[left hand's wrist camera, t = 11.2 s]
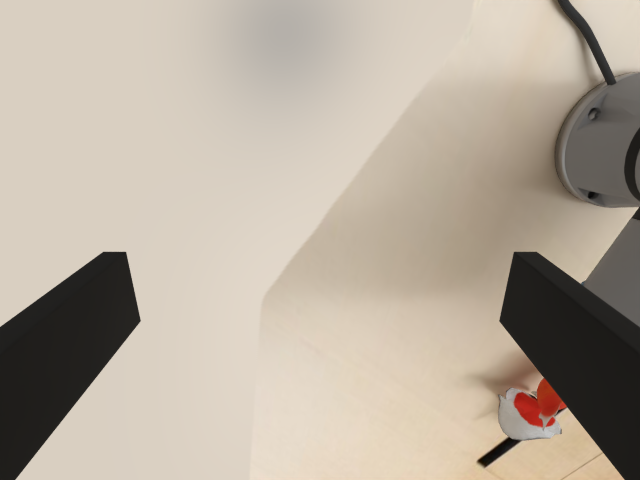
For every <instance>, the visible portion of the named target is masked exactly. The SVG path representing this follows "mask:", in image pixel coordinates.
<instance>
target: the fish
mask: <svg viewBox="0 0 640 480" xmlns="http://www.w3.org/2000/svg"><path fill="white" fill-rule="evenodd" d="M531 393H533V394H534V395H535V396H536V397H537V399H536V398H535V397H534V396H532V395H530V394H528V393H526V392H524V391H521V390H518V389H514V388H510V389H508V390H507V391H506V397H504V396H502V395H498V396H499V399H500V405H499V414H498V419H499V424H500V426H501V428H502V430H503V432H504V433H505V434H506V435H507V436H509V437H510V438H512V439H516V440H532V439H541V438H551V437H552V436H554V435H555V434H561V427H560V425H559V423H558V421H557V420H556V418H555V416H554V415H555V414H556V413H557V411H558V410H560V409H563V408H565V407H567V406H566V405H565V403H564V402H563V401H562V400H561V398H560V397H559V396H558V395H557V393H556V392H555V391H554V390H553V388H552V387H551V386H550V384H549V383H548V382H547V381H546V379H545V378H544V379H542V381H541V382H540V384H539V386H538V389H537V392H534V391H532V392H531Z"/></svg>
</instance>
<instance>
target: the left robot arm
mask: <svg viewBox="0 0 640 480" xmlns="http://www.w3.org/2000/svg"><path fill="white" fill-rule="evenodd" d="M558 2H559V4H560V6H561V7H562V9H563V10H564V12H565V13H566V14H567V15H568V16H569V17H570V18H571V20H572V21H573V22H574V23H575V24H576V25H577V26H578V28H579V29H580V30H581V32H582V34H583V35H584V37H585V39H586V41H587V43H588V45H589V47H590V49H591V51H592V53H593V55H594V57H595V59H596V62H597V64H598V66H599V68H600V70H601V72H602V74H603V76H604V78H605V82H603V83H602V84H600V85H598V86H597V87H595V88H594V89H593V90H591V91H590V92H589V93H588V94H586V95H585V96H584V97H583V98H582V99H581V100H580V101H579V102H578V103H577V104H576V106H575V107H574V108H573V109H572V111H571V112H570V113H569V115H568V117H567V118H566V120H565V122H564V124H563V126H562V128H561V130H560V133H559V136H558V139H557V143H556V149H555V164H556V170H557V173H558V176H559V178H560V180H561V182H562V184H563V185H564V186H565V188H566V189H567V190H568V191H569V192H570V193H571V194H573V195H574V196H576V197H577V198H579V199H582V200H584V201H586V202H589V203H591V204H594V205H597V206H601V207H610V208H617V207H639V208H638V210H637V211H636V213H635V214H634V215H633V217H632V218H631V219H630V220H629V222H628V223H627V225H626V226H625V227H624V229H623V230H622V231H621V233H620V234H619V236H618V237H617V238H616V240H615V241H614V242H613V244H612V245H611V246H610V248H609V249H608V251H607V252H606V253H605V255H604V256H603V257H602V259H601V260H600V262H599V263H598V264H597V266H596V267H595V268H594V270H593V271H592V272H591V274H590V275H589V277H588V278H587V279H586V281H584V282H582V283H581V284H580V283H579V282H577V281H576V280H575V279H573V278H572V277H570V276H569V275H568V274H566V273H565V272H564V271H562V270H561V269H559V268H558V267H557V266H555V265H554V264H553V263H551V262H550V261H548V260H547V259H546V258H544V257H543V256H542V255H540V254H539V253H537V252H514V254H513V259H512V264H511V268H510V273H509V278H508V283H507V287H506V292H505V297H504V302H503V306H502V311H501V316H500V320H499V321H500V322H501V324H502V325H503V326H504V328H505V329H506V330H507V331H508V333H509V334H510V335H511V336H512V338H513V339H514V340H515V341H516V343H517V344H518V345H519V347H520V348H521V349H522V350H523V352H524V353H525V354H526V355H527V357H528V358H529V359H530V360H531V362H532V363H533V364H534V366H535V367H536V368H537V369H538V371H539V372H540V373H541V374H542V376H543V377H544V378H545V379H546V381H547V382H548V383H549V384H550V386H551V387H552V388H553V390H554V391H555V392H556V393H557V395H558V396H559V397H560V398H561V400H562V401H563V402H564V403H565V405H566V406H567V407H568V409H569V410H570V411H571V412H572V414H573V415H574V416H575V417H576V419H577V420H578V421H579V422H580V424H581V425H582V426H583V428H584V429H585V430H586V431H587V433H588V434H589V435H590V436H591V438H592V439H593V440H594V441H595V443H596V444H597V445H598V447H599V448H600V449H601V450H602V452H603V453H604V454H605V455H606V457H607V458H608V459H609V460H610V462H611V463H612V464H613V465H614V467H615V468H616V469H617V471H618V472H619V473H620V474H621V476H622V477H623V478H624V479H625V480H640V72H633V73H627V74H623V75H620V76H617V77H614V76H613V73H612V71H611V69H610V67H609V65H608V63H607V61H606V58H605V56H604V54H603V52H602V50H601V48H600V46H599V44H598V42H597V39H596V37H595V36H594V34H593V32H592V30H591V28H590V27H589V25H588V23H587V22H586V21H585V19H584V18H583V17H582V16H581V15H580V14H579V13H578V12H577V10H576V9H575V8H574V7H573V6H572V5H571V3H570V2H569V0H558ZM140 321H141V320H140V316H139V311H138V306H137V302H136V297H135V292H134V287H133V283H132V278H131V273H130V268H129V264H128V259H127V254H126V252H103V253H101V254H100V255H98V256H97V257H96V258H94V259H93V260H92V261H90V262H89V263H87V264H86V265H85V266H83V267H82V268H81V269H79V270H78V271H76V272H75V273H74V274H72V275H71V276H70V277H68V278H67V279H66V280H64V281H63V282H61V283H60V284H59V285H57V286H56V287H54V288H53V289H52V290H50V291H49V292H48V293H46V294H45V295H44V296H42V297H41V298H39V299H38V300H37V301H35V302H34V303H33V304H31V305H30V306H29V307H27V308H26V309H24V310H23V311H22V312H20V313H19V314H17V315H16V316H15V317H13V318H12V319H11V320H9V321H8V322H6V323H5V324H4V325H2V326H1V327H0V480H15V479H16V478H17V477H18V476H19V474H20V473H21V472H22V471H23V469H24V468H25V467H26V465H27V464H28V463H29V462H30V460H31V459H32V458H33V457H34V455H35V454H36V453H37V452H38V450H39V449H40V448H41V446H42V445H43V444H44V443H45V441H46V440H47V439H48V438H49V436H50V435H51V434H52V433H53V431H54V430H55V429H56V428H57V426H58V425H59V424H60V422H61V421H62V420H63V419H64V417H65V416H66V415H67V414H68V412H69V411H70V410H71V408H72V407H73V406H74V405H75V403H76V402H77V401H78V400H79V398H80V397H81V396H82V395H83V393H84V392H85V391H86V389H87V388H88V387H89V386H90V384H91V383H92V382H93V381H94V379H95V378H96V377H97V376H98V374H99V373H100V372H101V371H102V369H103V368H104V367H105V365H106V364H107V363H108V362H109V360H110V359H111V358H112V357H113V355H114V354H115V353H116V352H117V350H118V349H119V348H120V347H121V345H122V344H123V343H124V341H125V340H126V339H127V338H128V336H129V335H130V334H131V333H132V331H133V330H134V329H135V328H136V326H137V325H138V324H139V322H140Z"/></svg>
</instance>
